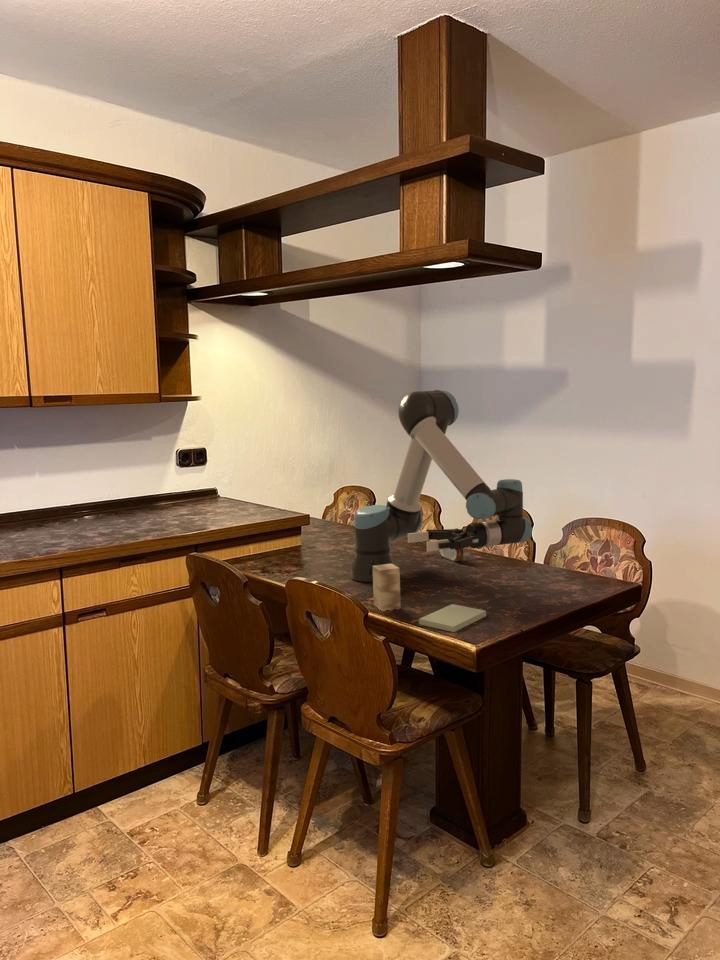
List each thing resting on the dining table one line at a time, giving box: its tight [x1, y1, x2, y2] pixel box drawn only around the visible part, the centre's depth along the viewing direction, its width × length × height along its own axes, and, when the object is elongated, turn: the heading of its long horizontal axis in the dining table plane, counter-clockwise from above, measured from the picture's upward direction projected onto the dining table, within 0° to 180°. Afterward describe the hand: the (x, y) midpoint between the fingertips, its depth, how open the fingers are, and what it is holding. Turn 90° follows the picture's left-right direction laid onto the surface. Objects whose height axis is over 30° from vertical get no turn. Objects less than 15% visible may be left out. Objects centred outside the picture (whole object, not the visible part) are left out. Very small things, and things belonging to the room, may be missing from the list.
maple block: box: [372, 563, 402, 612], centre depth 210 cm, size 6×6×12 cm
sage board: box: [418, 603, 487, 633], centre depth 197 cm, size 16×11×2 cm
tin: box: [438, 541, 464, 563], centre depth 265 cm, size 15×3×8 cm, turn 22°
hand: (417, 542), depth 212 cm, fingers open, 13 cm apart
